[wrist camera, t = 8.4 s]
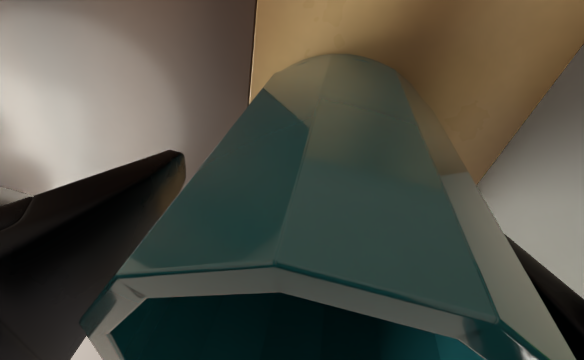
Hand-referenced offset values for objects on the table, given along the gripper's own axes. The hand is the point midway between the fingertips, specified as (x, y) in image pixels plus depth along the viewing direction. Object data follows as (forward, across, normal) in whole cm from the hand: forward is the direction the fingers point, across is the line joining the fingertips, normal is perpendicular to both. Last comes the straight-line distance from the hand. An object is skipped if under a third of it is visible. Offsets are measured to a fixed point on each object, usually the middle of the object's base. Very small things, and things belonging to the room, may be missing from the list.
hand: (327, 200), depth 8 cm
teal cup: (+3, 0, 0) cm, 3 cm away
